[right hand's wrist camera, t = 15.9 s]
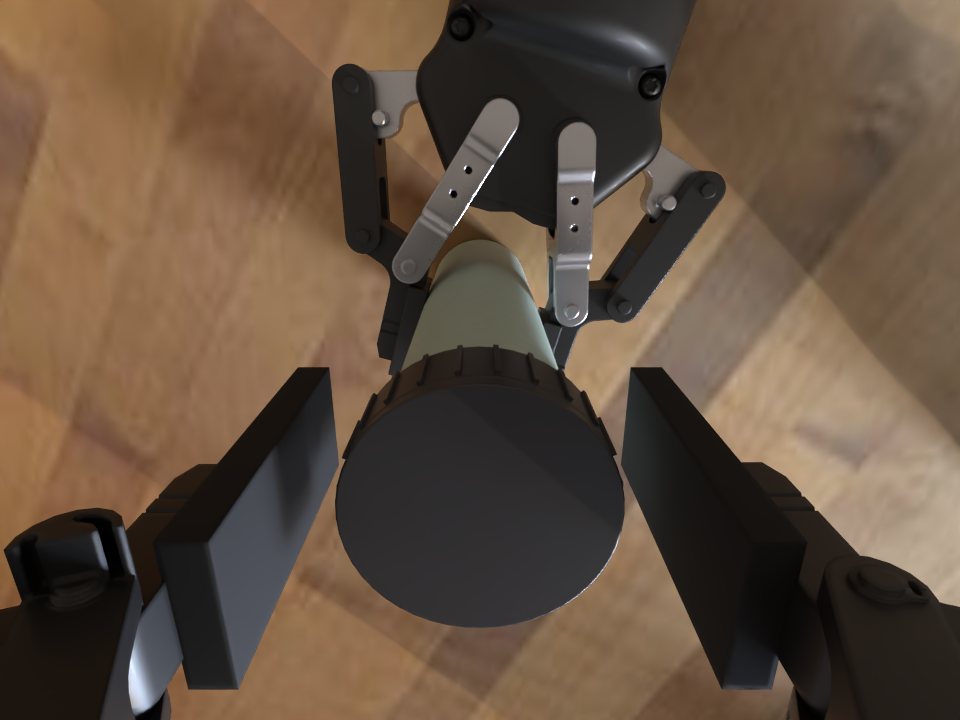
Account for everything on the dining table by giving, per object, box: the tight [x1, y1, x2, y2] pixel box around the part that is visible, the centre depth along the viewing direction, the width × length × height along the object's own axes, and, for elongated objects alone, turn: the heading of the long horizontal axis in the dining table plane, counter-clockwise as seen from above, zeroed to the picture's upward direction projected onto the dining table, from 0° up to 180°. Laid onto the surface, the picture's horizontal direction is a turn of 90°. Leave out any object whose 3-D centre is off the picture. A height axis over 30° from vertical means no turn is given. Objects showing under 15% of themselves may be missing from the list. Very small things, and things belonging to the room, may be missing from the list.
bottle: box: [401, 240, 558, 371], centre depth 19 cm, size 4×4×18 cm
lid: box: [335, 344, 625, 628], centre depth 11 cm, size 5×5×2 cm
